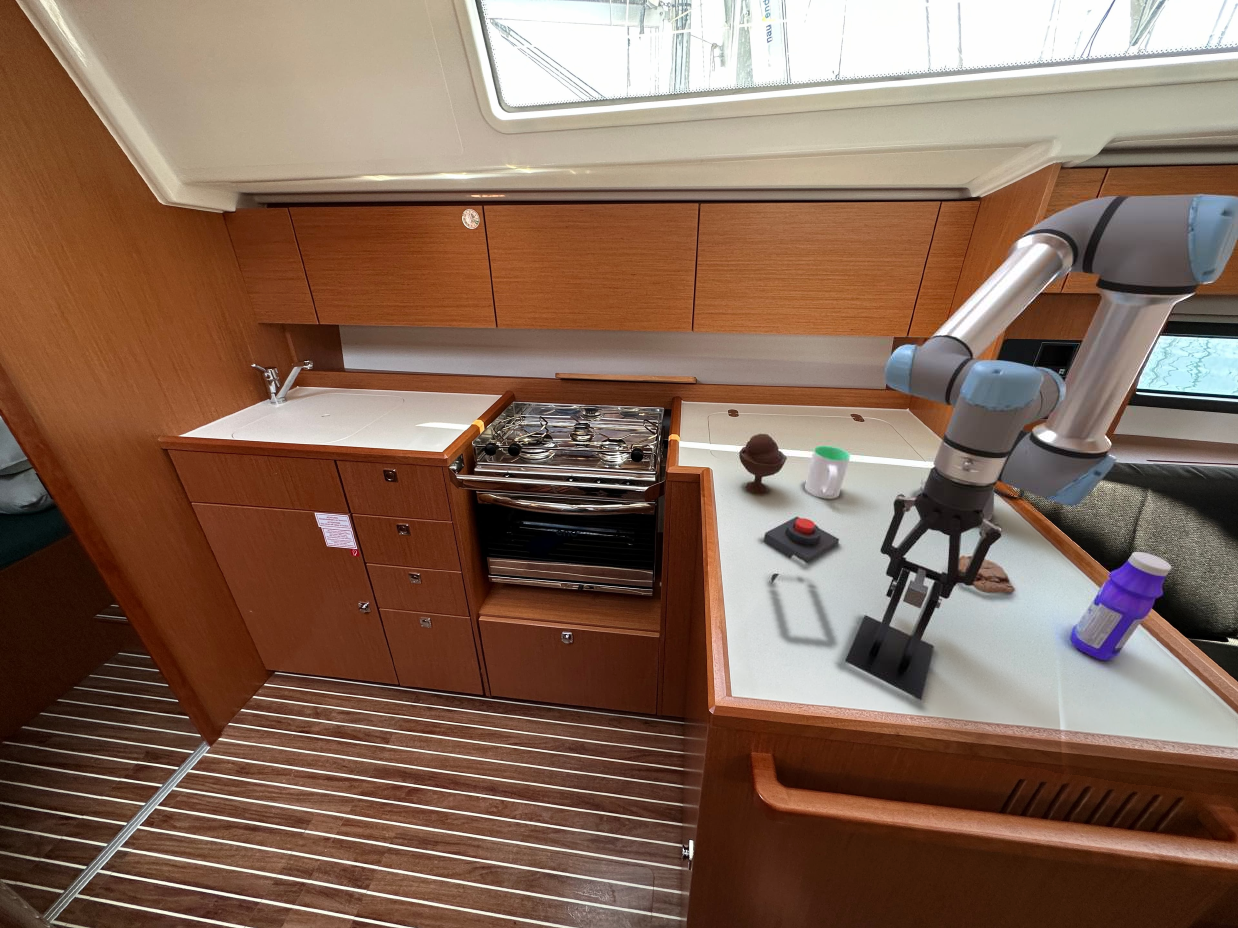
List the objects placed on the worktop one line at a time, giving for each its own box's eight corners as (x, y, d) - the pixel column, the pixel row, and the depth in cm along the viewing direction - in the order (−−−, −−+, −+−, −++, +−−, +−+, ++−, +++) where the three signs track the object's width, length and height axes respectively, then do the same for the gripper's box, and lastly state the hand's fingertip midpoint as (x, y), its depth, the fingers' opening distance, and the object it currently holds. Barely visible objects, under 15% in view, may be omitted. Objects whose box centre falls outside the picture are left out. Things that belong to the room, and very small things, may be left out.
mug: (846, 509, 110) (858, 470, 105) (810, 504, 111) (820, 465, 106) (835, 484, 120) (845, 447, 116) (802, 480, 122) (811, 444, 117)
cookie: (1002, 571, 91) (1009, 558, 90) (1017, 606, 83) (1024, 593, 81) (943, 556, 95) (949, 544, 94) (952, 588, 86) (958, 575, 85)
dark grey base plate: (794, 524, 103) (798, 509, 101) (836, 547, 96) (841, 531, 94) (763, 541, 97) (766, 525, 95) (805, 567, 90) (810, 550, 88)
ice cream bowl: (781, 502, 111) (794, 445, 104) (733, 496, 113) (743, 439, 106) (777, 481, 121) (789, 427, 114) (733, 476, 122) (742, 422, 116)
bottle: (1073, 624, 79) (1128, 541, 71) (1119, 646, 75) (1182, 560, 67) (1063, 645, 75) (1120, 559, 67) (1110, 669, 71) (1177, 581, 63)
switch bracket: (862, 620, 79) (889, 549, 72) (931, 651, 73) (966, 577, 66) (842, 666, 70) (870, 590, 63) (918, 705, 65) (957, 627, 58)
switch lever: (902, 569, 76) (907, 556, 75) (937, 583, 73) (943, 569, 72) (891, 596, 66) (897, 582, 66) (932, 613, 64) (938, 598, 63)
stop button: (801, 523, 97) (802, 516, 97) (816, 531, 95) (818, 524, 94) (790, 528, 95) (792, 521, 95) (806, 537, 93) (808, 530, 92)
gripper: (886, 463, 68) (844, 587, 78) (1046, 508, 58) (973, 643, 68) (896, 447, 73) (856, 565, 84) (1044, 486, 63) (977, 614, 74)
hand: (909, 600), depth 76 cm, fingers closed on switch lever, 5 cm apart
